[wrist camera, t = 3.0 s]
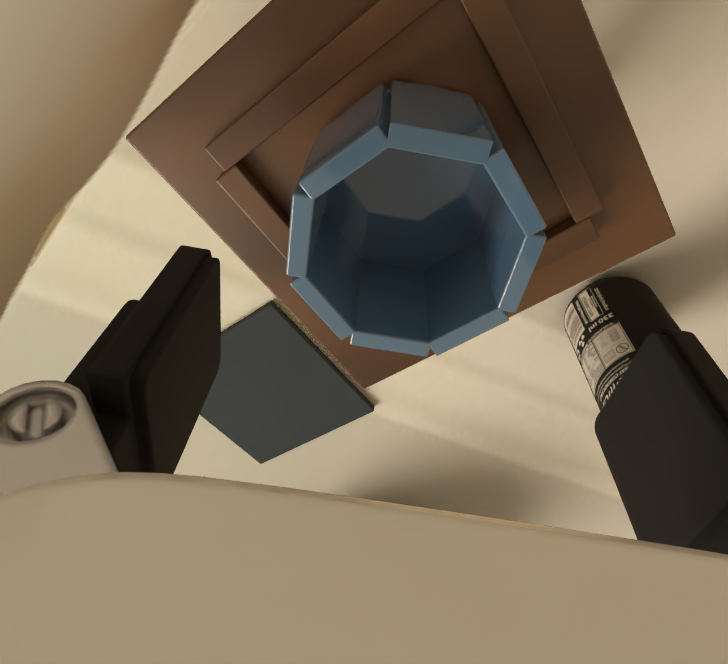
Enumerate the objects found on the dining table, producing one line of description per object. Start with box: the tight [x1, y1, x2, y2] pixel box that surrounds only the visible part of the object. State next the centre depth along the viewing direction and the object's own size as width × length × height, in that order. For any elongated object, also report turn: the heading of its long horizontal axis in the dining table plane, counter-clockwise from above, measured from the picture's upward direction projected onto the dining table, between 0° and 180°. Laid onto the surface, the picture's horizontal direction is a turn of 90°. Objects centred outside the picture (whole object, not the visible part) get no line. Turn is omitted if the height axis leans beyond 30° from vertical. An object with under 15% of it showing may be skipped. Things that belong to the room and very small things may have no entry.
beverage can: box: [564, 277, 681, 411], centre depth 35 cm, size 7×7×12 cm
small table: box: [126, 0, 675, 388], centre depth 24 cm, size 14×14×17 cm
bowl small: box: [286, 80, 547, 357], centre depth 16 cm, size 7×7×5 cm
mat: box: [200, 301, 374, 464], centre depth 46 cm, size 14×14×1 cm
